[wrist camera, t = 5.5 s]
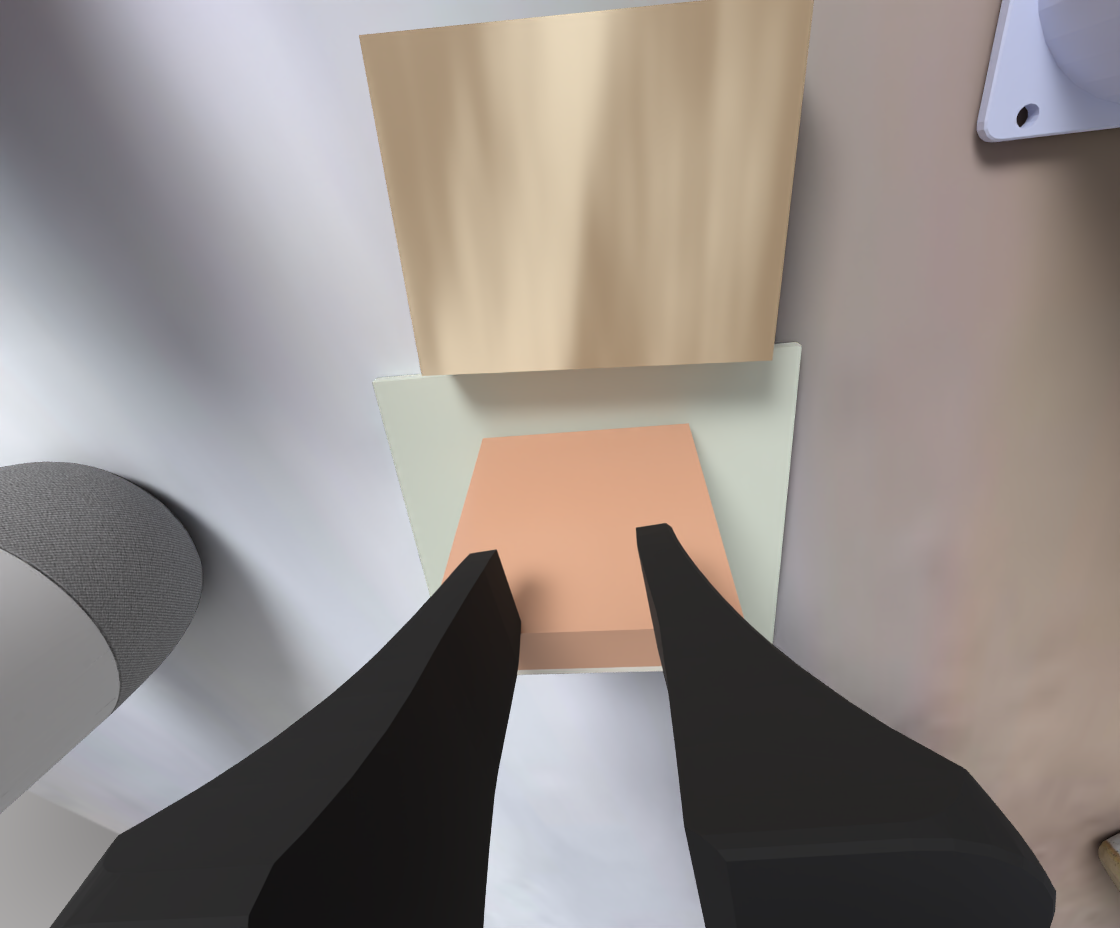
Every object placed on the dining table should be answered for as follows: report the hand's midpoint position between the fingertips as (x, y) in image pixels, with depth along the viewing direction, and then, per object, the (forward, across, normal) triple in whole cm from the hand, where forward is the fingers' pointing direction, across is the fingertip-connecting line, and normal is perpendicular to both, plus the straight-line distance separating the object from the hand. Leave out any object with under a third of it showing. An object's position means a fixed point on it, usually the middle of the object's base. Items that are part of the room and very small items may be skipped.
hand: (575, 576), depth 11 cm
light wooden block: (+7, +3, -7) cm, 11 cm away
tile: (+8, 0, +1) cm, 8 cm away
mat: (+8, 0, +4) cm, 9 cm away
